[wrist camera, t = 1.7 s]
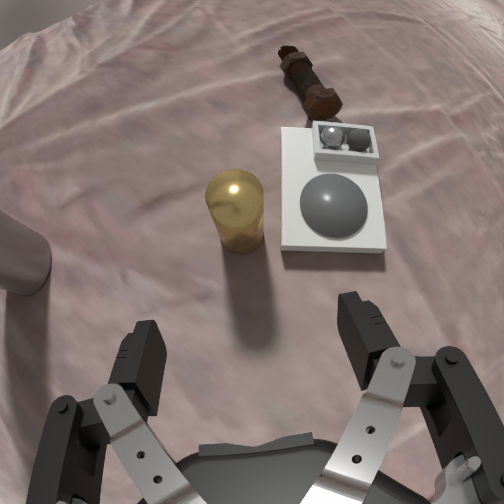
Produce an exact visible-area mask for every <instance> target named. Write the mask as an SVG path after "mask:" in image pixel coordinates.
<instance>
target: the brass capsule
mask: <svg viewBox="0 0 504 504" xmlns="http://www.w3.org/2000/svg"><path fill="white" fill-rule="evenodd" d="M205 198H206V203H207V206H208V208H209V211H210V213H211V216H212V218H213V221H214V223H215V226H216V228H217V231H218V233H219V236H220V238H221V241H222V243H223V245H224V246H225V247H226V248H227V249H228V250H230V251H232V252H234V253H238V254H245V253H249V252H251V251H253V250H255V249H256V248H257V247H258V246H259V245H260V243H261V241H262V239H263V188H262V185H261V183H260V181H259V180H258V179H257V178H256V176H254V175H253V174H251V173H250V172H248V171H245V170H240V169H231V170H227V171H224V172H221V173H220V174H218V175H216V176H215V177H214V178H213V179H212V180H211V181H210V183H209V185H208V187H207V189H206V194H205Z"/></svg>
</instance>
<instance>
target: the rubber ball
mask: <svg viewBox="0 0 504 504" xmlns="http://www.w3.org/2000/svg"><path fill="white" fill-rule="evenodd" d="M370 142H371V140H370V136H369V134H368V133H367V132H366V131H365V130H363V129H354V130H352V131H350V133H349V134H348V136H347V143H348V145H349V147H350V148H351V149H352V150H354V151H356V152H363V151H365V150H367V149H368V147H369V146H370Z"/></svg>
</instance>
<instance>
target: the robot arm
mask: <svg viewBox="0 0 504 504" xmlns="http://www.w3.org/2000/svg"><path fill="white" fill-rule="evenodd" d="M50 265H51V251H50V247H49V244H48V242H47V240H46V239H45V238H44V237H43V236H42V235H40V234H39V233H37V232H35V231H33V230H32V229H30V228H28V227H27V226H25V225H24V224H22V223H20V222H19V221H17V220H15V219H14V218H12V217H10V216H9V215H7V214H6V213H4V212H2V211H1V210H0V289H4V290H6V291H10V292H13V293H17V294H20V295H25V296H27V295H31V294H33V293H35V292H36V291H38V290H39V289H40V288H41V286H42V285H43V284H44V282H45V280H46V278H47V276H48V273H49V269H50ZM337 325H338V331H339V334H340V337H341V340H342V342H343V345H344V347H345V350H346V352H347V355H348V357H349V360H350V362H351V365H352V367H353V370H354V373H355V375H356V378H357V380H358V383H359V386H360V388H361V391H362V390H366V389H367V391H366V393H365V394H363V396H362V397H361V399H360V402H359V404H358V406H357V408H356V410H355V412H354V414H353V416H352V418H351V420H350V422H349V424H348V426H347V428H346V430H345V432H344V434H343V436H342V438H341V440H340V441H339V443H338V444H336V443H334V442H331V441H327V440H321V439H313V436H312V432H310V433H304V434H298V435H292V436H286V437H282V438H279V439H277V440H274V441H271V442H269V443H266V444H263V445H260V446H257V447H250V446H242V445H234V444H227V443H223V444H205V445H199V452H197V453H194V454H191V455H189V456H187V457H185V458H183V459H182V460H180V461H179V462H176V461H175V460H174V459H173V458H172V456H171V455H170V454H169V453H168V451H167V450H166V449H165V447H164V446H163V445H162V443H161V442H160V441H159V439H158V438H157V436H156V435H155V434H154V432H153V431H152V429H151V428H150V427H149V425H148V424H147V419H148V416H157V412H158V405H159V399H160V393H161V387H162V381H163V375H164V369H165V363H166V358H167V351H166V346H165V343H164V341H163V338H162V336H161V333H160V331H159V329H158V326H157V324H156V322H155V320H145V321H138V322H137V323H136V326H135V329H134V332H133V333H128V334H127V336H126V337H125V338H124V339H123V340H122V342H121V345H120V348H119V352H118V354H117V357H116V358H117V359H116V360H115V363H114V366H113V369H112V372H111V375H110V378H109V382H108V384H107V385H104V386H102V387H101V388H100V389H98V391H97V392H96V393H95V395H94V398H92V399H88V400H84V401H80V402H77V401H76V400H75V399H74V398H73V397H72V396H69V395H64V396H61V397H59V398H57V399H56V400H55V401H54V402H53V403H52V405H51V407H50V410H49V413H48V417H47V420H46V423H45V426H44V430H43V433H42V437H41V440H40V444H39V448H38V451H37V455H36V459H35V463H34V467H33V472H32V476H31V481H30V485H29V490H28V495H27V501H26V504H99V503H100V493H101V484H102V476H103V468H104V461H105V454H106V447H107V444H111V445H112V447H113V449H114V450H115V452H116V454H117V456H118V457H119V459H120V461H121V463H122V464H123V466H124V468H125V469H126V471H127V473H128V474H129V476H130V477H131V479H132V481H133V482H134V484H135V485H136V487H137V488H138V490H139V491H140V493H141V494H142V496H143V498H142V499H141V500H140V501H139V502H138V503H137V504H501V503H503V502H504V426H503V423H502V421H501V419H500V417H499V415H498V413H497V411H496V409H495V407H494V405H493V403H492V402H491V400H490V398H489V396H488V394H487V392H486V390H485V388H484V387H483V385H482V383H481V381H480V379H479V378H478V376H477V374H476V372H475V371H474V369H473V367H472V365H471V364H470V362H469V360H468V359H467V357H466V355H465V354H464V353H463V352H462V351H461V350H460V349H458V348H456V347H452V346H447V347H443V348H441V349H439V350H438V351H437V353H436V355H435V356H431V357H418V356H414V355H413V353H412V352H411V351H409V350H408V349H406V348H403V347H401V346H400V345H399V343H398V341H397V339H396V338H395V336H394V334H393V332H392V331H391V329H390V327H389V325H388V324H387V323H386V320H385V319H384V317H383V316H382V313H381V312H380V310H379V308H378V307H377V306H376V305H374V304H373V303H372V302H370V301H369V300H368V301H363V302H362V300H361V299H360V297H359V295H358V293H357V292H356V291H354V292H348V293H343V294H339V296H338V315H337ZM403 407H420V409H421V411H422V414H423V416H424V419H425V422H426V424H427V427H428V430H429V432H430V435H431V438H432V441H433V443H434V446H435V449H436V452H437V455H438V458H439V461H440V464H441V467H442V471H441V472H440V473H439V474H438V476H437V477H436V480H435V485H434V486H435V496H434V499H433V501H432V503H430V502H429V501H428V500H427V499H426V498H424V497H423V496H421V495H419V494H418V493H416V492H414V491H412V490H411V489H409V488H407V487H405V486H404V485H402V484H400V483H399V482H397V481H395V480H394V479H392V478H390V477H389V476H387V475H386V474H384V473H382V472H381V471H379V470H378V469H379V467H380V464H381V462H382V460H383V458H384V455H385V453H386V450H387V448H388V446H389V443H390V441H391V438H392V436H393V433H394V430H395V428H396V425H397V422H398V420H399V417H400V414H401V411H402V408H403Z"/></svg>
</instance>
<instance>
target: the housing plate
mask: <svg viewBox="0 0 504 504" xmlns="http://www.w3.org/2000/svg"><path fill="white" fill-rule="evenodd" d="M328 126H336V127H338V128H340V129H341V130H342V132H343V133H344V137H345V140H344V143H343V145H342V146H341V147H340V148H338V149H335V150H331V149H328V148H326V147H325V146H324V145H323V144H322V142H321V138H320V136H321V133H322V131H323V130H324V129H325V128H326V127H328ZM354 129H363V130H365V131H366V132H367V133H368V134H369V136H370V140H371V142H370V146H369V147H368V149H367V150H365V151H363V152H356V151H354V150H352V149H351V148H350V147H349V145H348V143H347V136H348V134H349V133H350V131H352V130H354ZM378 159H379V154H378V149H377V144H376V139H375V134H374V129H373V127H372V126H364V125H355V124H346V123H335V122H323V121H313V123H312V128H295V127H281V251H314V252H349V253H382V252H383V251H384V250H385V249H387V247H386V236H385V226H384V217H383V209H382V201H381V194H380V187H379V180H378V173H377V167H376V163H377V161H378Z"/></svg>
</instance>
